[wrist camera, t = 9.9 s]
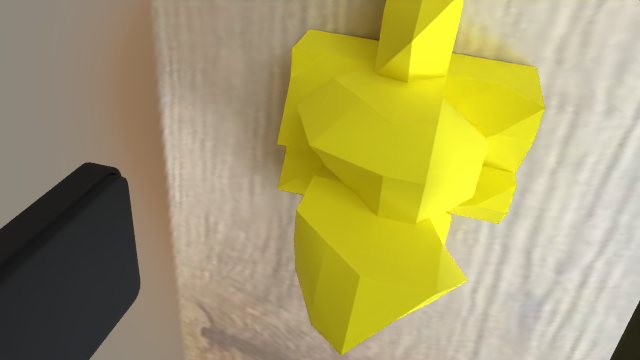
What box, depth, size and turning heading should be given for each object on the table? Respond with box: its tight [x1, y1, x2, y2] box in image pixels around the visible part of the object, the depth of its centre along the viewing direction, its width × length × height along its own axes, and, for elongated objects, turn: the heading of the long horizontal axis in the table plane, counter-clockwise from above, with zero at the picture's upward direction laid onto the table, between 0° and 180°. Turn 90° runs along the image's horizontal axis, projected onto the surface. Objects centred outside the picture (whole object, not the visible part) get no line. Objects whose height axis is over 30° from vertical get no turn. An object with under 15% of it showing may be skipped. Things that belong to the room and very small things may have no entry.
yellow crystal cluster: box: [277, 0, 545, 355], centre depth 12 cm, size 6×8×8 cm
